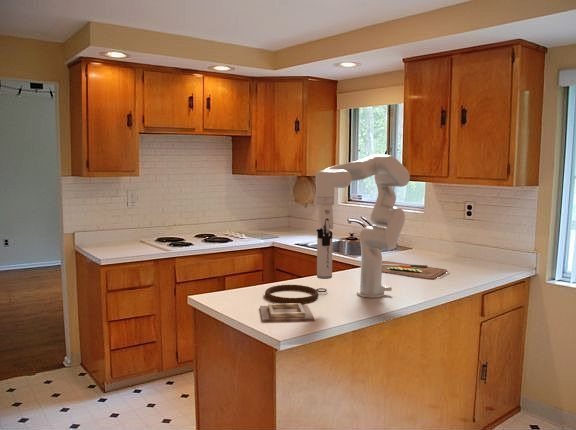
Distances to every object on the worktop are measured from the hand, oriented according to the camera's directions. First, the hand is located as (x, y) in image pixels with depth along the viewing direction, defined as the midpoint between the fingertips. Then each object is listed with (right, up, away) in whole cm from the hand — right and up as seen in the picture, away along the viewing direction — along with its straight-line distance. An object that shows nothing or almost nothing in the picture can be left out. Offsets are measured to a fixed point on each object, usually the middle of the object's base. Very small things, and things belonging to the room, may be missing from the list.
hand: (324, 243), depth 214 cm
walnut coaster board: (-16, -28, -6) cm, 33 cm away
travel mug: (0, -14, +2) cm, 14 cm away
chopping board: (+51, -20, +78) cm, 95 cm away
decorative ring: (-11, -25, +22) cm, 35 cm away
